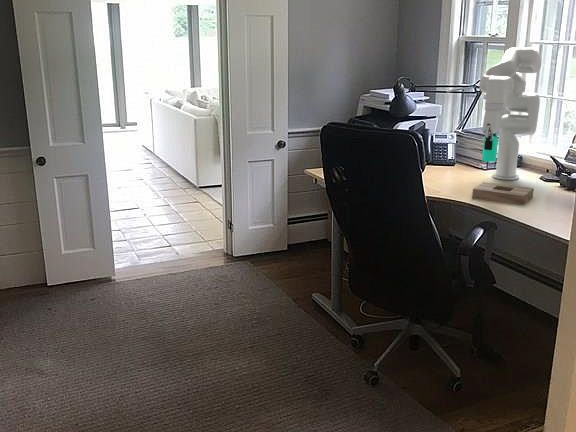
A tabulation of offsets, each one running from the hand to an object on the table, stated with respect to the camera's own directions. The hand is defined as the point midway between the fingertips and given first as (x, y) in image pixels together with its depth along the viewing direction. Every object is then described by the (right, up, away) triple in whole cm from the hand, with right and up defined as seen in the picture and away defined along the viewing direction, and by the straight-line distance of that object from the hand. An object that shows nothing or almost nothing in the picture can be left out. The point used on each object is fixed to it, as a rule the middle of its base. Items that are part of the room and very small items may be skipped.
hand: (490, 148), depth 268 cm
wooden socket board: (+6, -22, +2) cm, 22 cm away
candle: (0, -5, +2) cm, 6 cm away
